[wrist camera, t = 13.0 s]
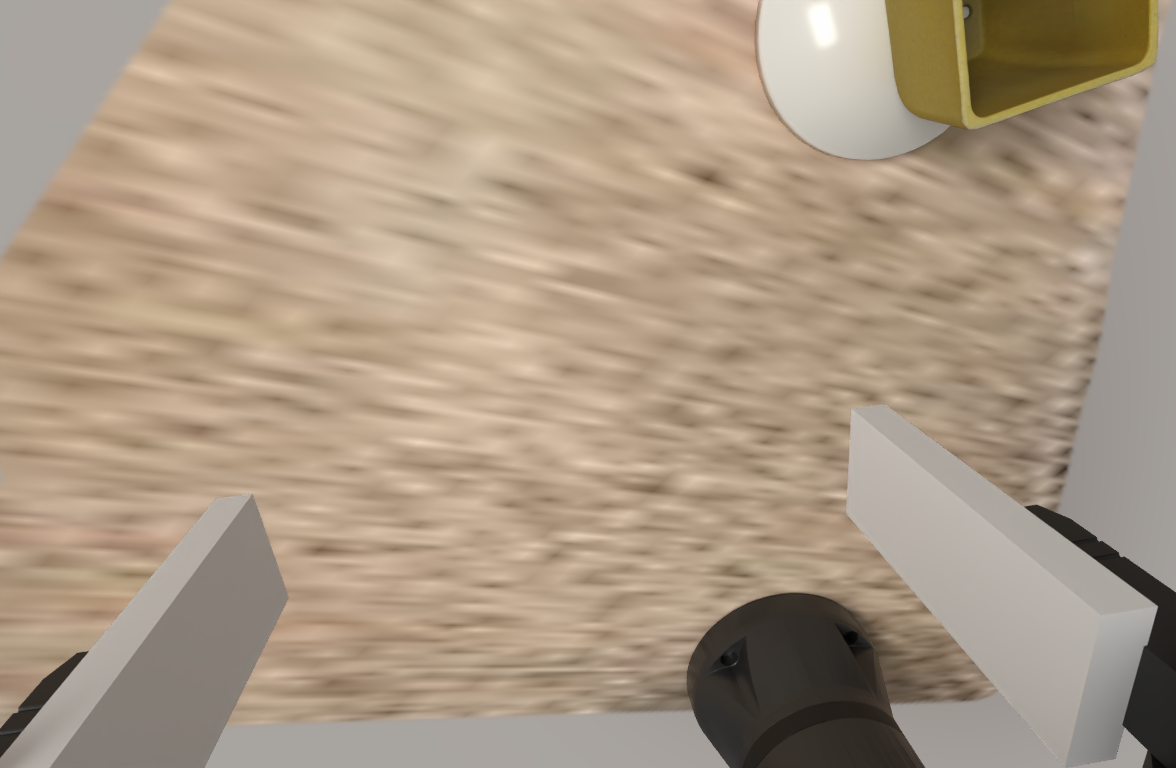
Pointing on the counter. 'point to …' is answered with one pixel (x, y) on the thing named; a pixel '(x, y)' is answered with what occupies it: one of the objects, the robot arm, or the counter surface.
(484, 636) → the counter surface
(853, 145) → the white flat disc
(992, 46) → the flower pot
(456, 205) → the counter surface
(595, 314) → the counter surface
